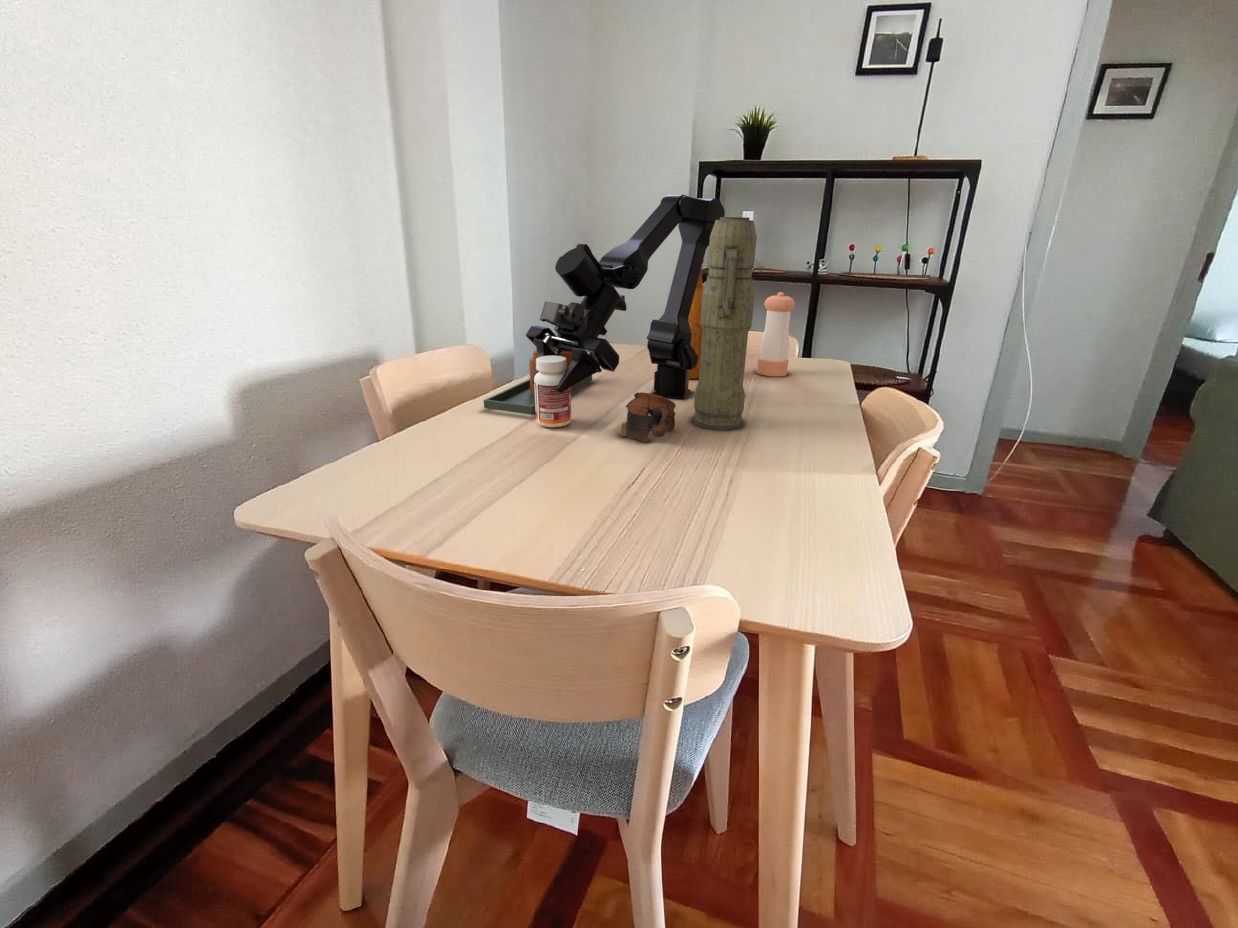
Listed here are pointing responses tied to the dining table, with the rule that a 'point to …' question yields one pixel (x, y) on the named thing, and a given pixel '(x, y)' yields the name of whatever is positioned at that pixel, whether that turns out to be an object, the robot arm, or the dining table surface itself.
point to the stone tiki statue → (725, 324)
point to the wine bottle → (696, 325)
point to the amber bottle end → (565, 354)
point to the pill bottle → (551, 392)
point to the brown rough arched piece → (642, 422)
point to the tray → (520, 398)
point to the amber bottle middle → (532, 369)
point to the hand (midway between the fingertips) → (546, 387)
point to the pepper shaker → (775, 336)
